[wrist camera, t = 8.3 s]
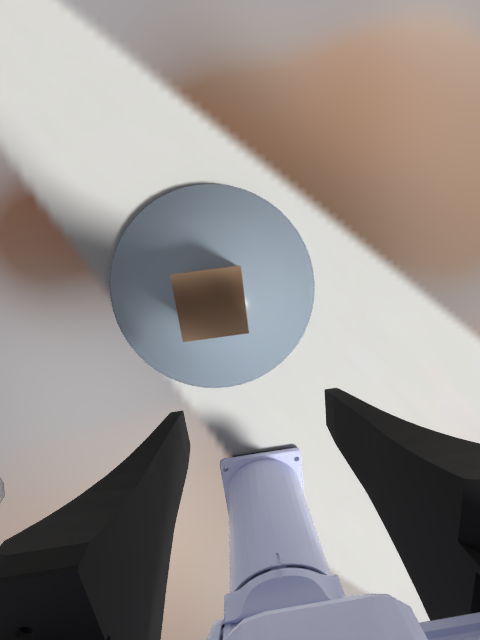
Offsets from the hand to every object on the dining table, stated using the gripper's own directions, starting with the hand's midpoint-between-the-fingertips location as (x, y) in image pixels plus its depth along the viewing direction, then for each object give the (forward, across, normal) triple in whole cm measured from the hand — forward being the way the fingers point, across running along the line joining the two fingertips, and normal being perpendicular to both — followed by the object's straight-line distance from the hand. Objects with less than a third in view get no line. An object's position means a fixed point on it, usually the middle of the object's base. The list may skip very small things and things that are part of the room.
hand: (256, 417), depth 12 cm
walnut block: (+8, +2, -6) cm, 10 cm away
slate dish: (+9, +2, -5) cm, 11 cm away
